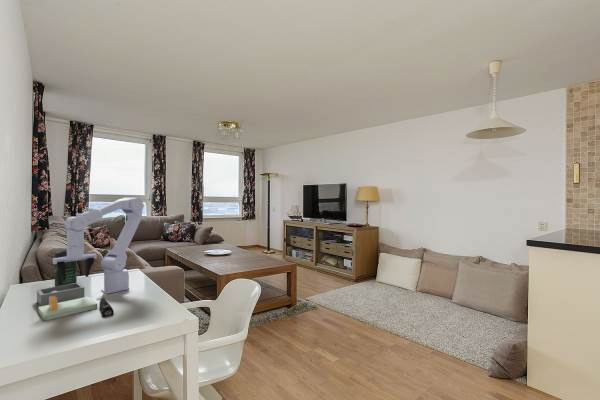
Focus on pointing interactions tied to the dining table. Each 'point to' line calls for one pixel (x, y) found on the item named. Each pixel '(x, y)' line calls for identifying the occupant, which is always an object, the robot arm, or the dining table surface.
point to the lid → (65, 307)
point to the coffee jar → (69, 271)
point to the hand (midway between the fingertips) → (75, 278)
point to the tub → (60, 293)
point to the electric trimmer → (106, 308)
